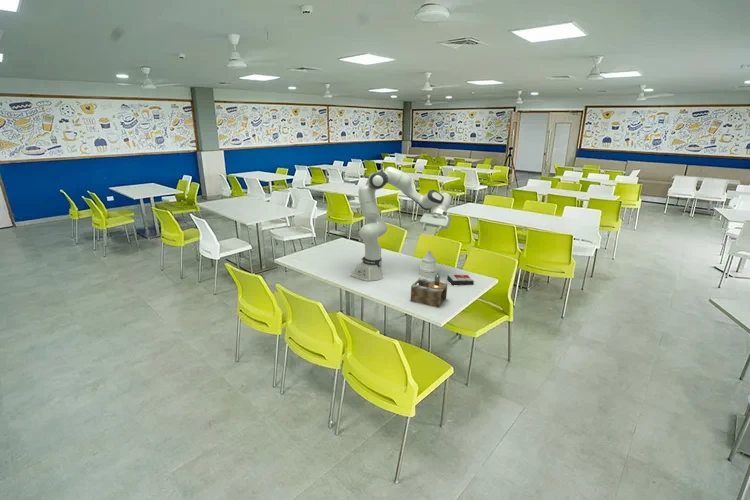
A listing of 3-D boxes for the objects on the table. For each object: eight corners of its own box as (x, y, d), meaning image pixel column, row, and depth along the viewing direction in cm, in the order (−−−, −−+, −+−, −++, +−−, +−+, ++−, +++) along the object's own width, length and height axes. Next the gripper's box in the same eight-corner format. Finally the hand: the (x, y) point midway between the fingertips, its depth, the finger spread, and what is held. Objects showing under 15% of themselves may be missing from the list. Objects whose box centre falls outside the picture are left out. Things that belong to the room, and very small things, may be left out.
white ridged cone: (436, 278, 267) (438, 253, 262) (418, 276, 270) (419, 252, 264) (437, 272, 279) (439, 248, 274) (419, 270, 282) (421, 247, 276)
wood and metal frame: (410, 301, 230) (411, 285, 227) (418, 292, 242) (419, 278, 239) (439, 307, 222) (440, 291, 219) (446, 298, 234) (447, 283, 231)
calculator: (474, 280, 256) (453, 280, 254) (473, 286, 258) (452, 286, 255) (468, 274, 267) (447, 274, 264) (467, 280, 268) (446, 279, 265)
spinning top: (425, 295, 227) (426, 277, 223) (430, 289, 235) (432, 271, 232) (441, 298, 222) (443, 280, 219) (446, 292, 231) (448, 274, 228)
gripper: (423, 209, 259) (415, 226, 254) (450, 213, 247) (442, 231, 243) (426, 214, 264) (418, 231, 259) (453, 219, 252) (445, 236, 247)
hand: (430, 231), depth 251 cm, fingers open, 8 cm apart
